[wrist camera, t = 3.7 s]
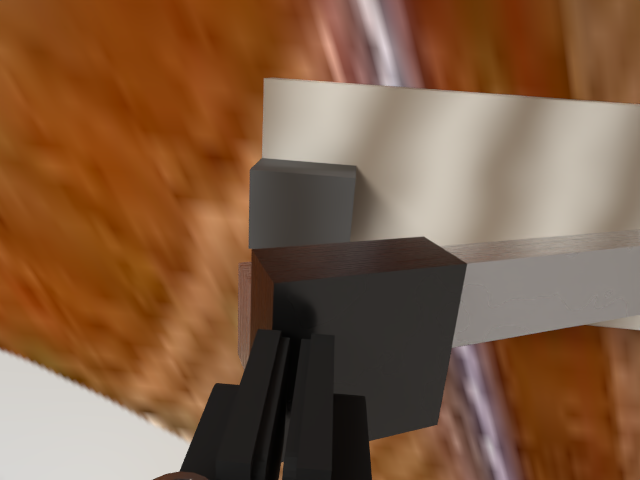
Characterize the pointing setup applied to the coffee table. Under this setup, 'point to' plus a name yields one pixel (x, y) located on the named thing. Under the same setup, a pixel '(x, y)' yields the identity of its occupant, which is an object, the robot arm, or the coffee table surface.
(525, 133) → the base
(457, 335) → the lever
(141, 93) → the coffee table surface
